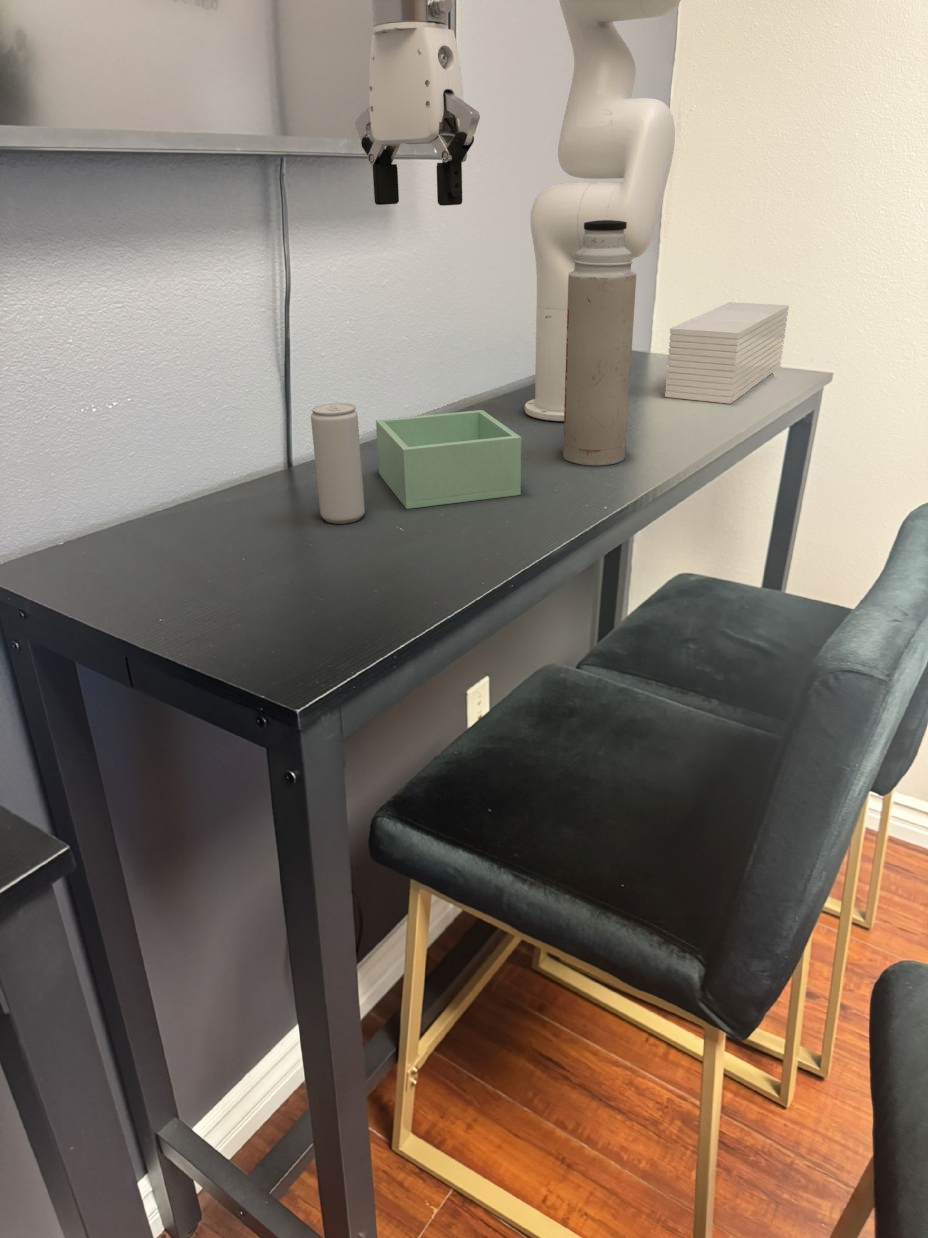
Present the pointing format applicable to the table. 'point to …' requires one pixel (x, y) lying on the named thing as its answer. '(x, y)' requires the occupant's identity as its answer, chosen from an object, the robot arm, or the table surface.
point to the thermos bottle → (599, 346)
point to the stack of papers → (725, 351)
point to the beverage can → (338, 462)
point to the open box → (448, 458)
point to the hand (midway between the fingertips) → (417, 204)
